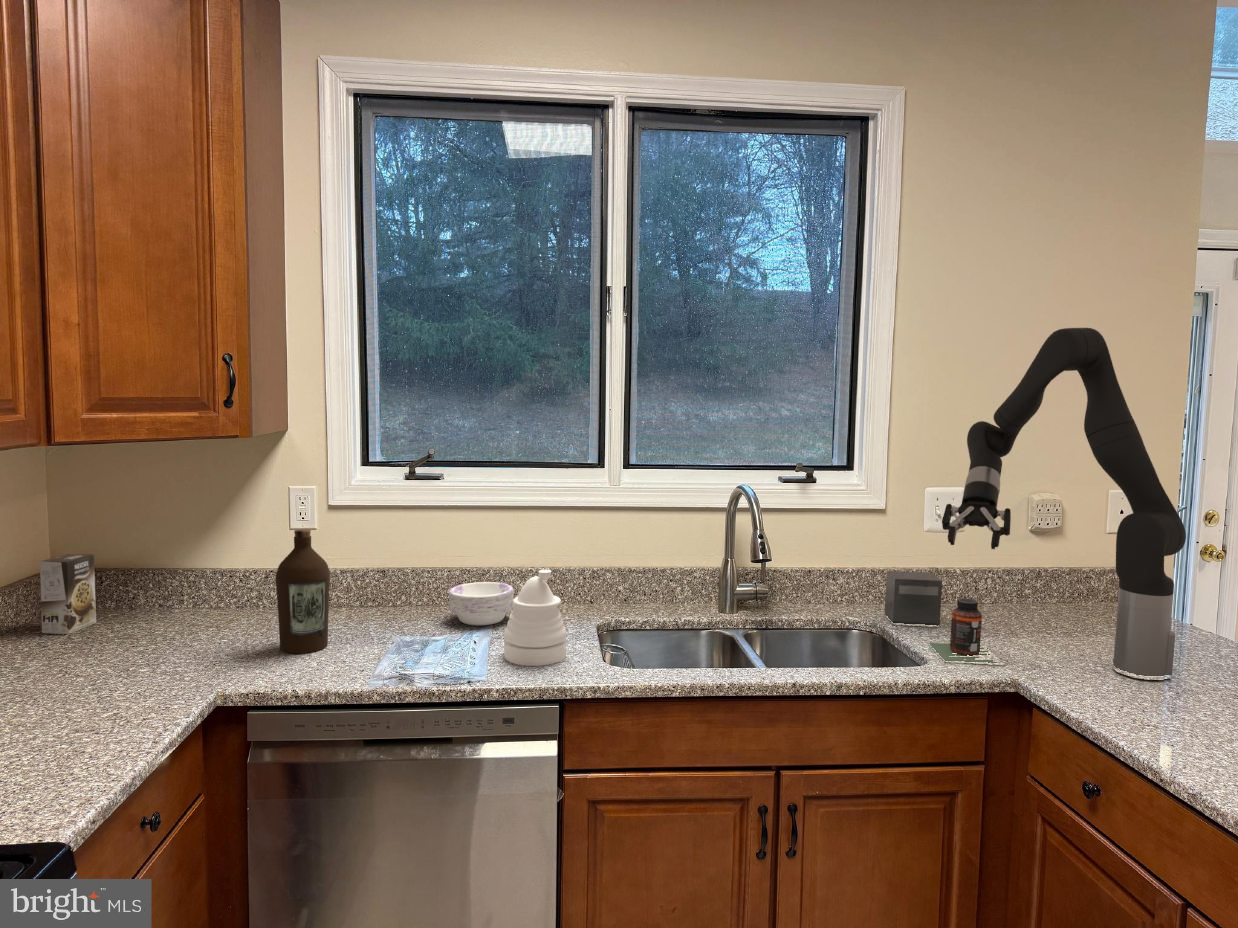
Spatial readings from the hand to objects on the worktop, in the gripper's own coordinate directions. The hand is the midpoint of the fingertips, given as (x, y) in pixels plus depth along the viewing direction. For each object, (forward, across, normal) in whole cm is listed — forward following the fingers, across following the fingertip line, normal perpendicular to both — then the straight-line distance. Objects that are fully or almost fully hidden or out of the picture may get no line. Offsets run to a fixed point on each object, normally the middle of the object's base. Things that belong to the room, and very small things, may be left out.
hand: (972, 545), depth 181 cm
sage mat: (+23, +1, +8) cm, 25 cm away
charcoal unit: (+8, -14, +23) cm, 28 cm away
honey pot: (+60, -75, -29) cm, 100 cm away
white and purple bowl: (+51, -101, -20) cm, 115 cm away
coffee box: (+91, -171, -60) cm, 203 cm away
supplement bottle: (+23, +1, +8) cm, 24 cm away
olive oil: (+77, -118, -46) cm, 148 cm away
